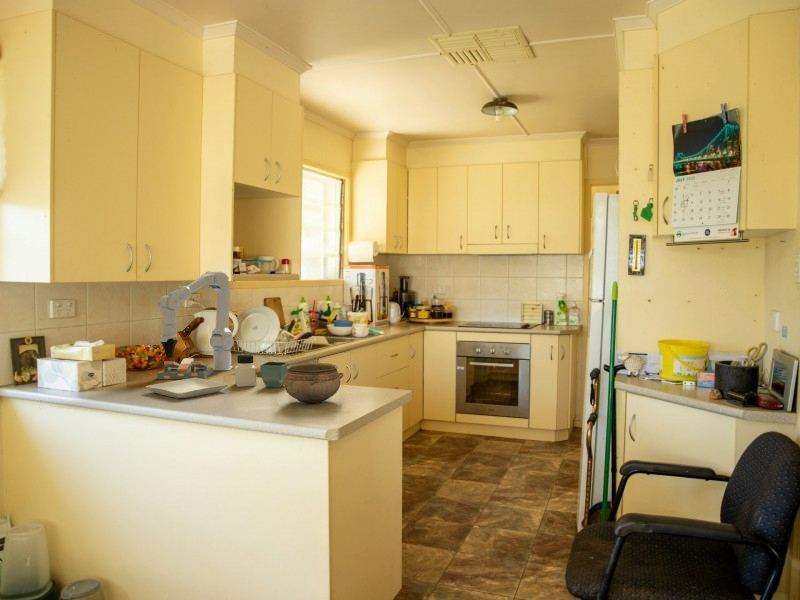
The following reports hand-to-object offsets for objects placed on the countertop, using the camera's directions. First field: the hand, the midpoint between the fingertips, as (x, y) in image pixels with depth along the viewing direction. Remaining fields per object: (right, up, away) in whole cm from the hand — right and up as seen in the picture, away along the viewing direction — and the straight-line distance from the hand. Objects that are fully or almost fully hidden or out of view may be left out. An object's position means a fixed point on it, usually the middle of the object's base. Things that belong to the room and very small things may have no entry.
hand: (169, 357), depth 259 cm
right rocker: (+11, -4, +5) cm, 13 cm away
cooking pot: (+66, -11, -47) cm, 81 cm away
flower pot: (+47, -10, -19) cm, 52 cm away
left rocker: (0, -4, +4) cm, 6 cm away
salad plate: (+18, -11, -31) cm, 37 cm away
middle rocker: (+5, -4, +4) cm, 8 cm away
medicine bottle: (+35, -10, -15) cm, 39 cm away
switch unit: (+5, -8, +5) cm, 11 cm away
